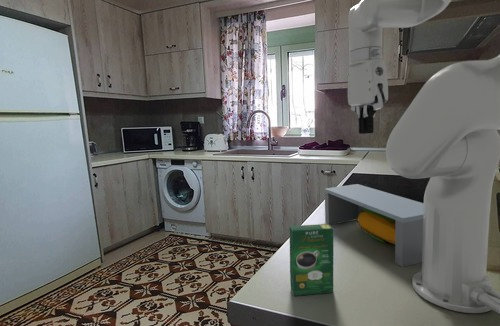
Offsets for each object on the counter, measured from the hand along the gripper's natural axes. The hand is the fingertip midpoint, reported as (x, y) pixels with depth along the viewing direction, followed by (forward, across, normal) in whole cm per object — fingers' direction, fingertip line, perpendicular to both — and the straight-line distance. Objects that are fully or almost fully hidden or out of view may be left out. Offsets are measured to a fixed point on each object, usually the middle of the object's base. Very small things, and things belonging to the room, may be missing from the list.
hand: (366, 133), depth 75 cm
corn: (+29, -2, -4) cm, 29 cm away
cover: (+18, 0, -3) cm, 19 cm away
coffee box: (+29, -16, +25) cm, 41 cm away
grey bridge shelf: (+28, +1, -3) cm, 29 cm away
